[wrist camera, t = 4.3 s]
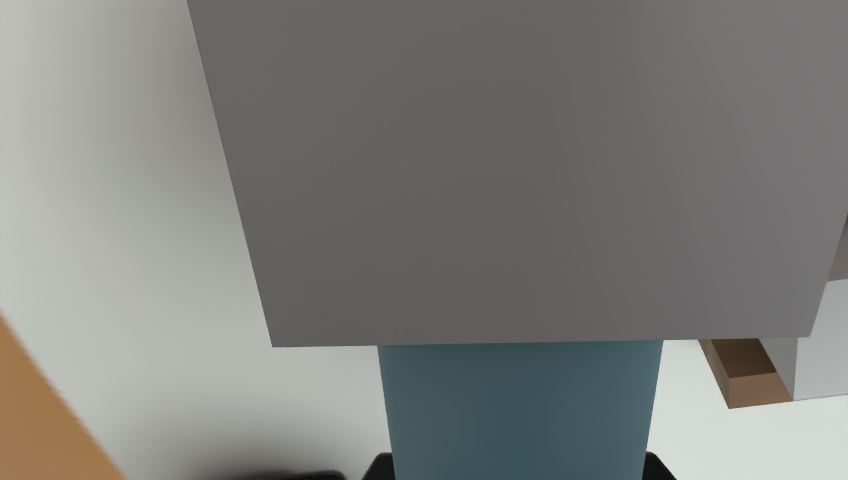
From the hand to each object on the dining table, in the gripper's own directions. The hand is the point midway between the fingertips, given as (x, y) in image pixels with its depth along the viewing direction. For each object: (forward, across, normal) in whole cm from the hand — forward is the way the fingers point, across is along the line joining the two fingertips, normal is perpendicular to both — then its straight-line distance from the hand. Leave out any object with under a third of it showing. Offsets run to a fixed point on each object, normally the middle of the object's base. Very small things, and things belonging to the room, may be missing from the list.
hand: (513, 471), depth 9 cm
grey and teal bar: (+1, 0, 0) cm, 1 cm away
